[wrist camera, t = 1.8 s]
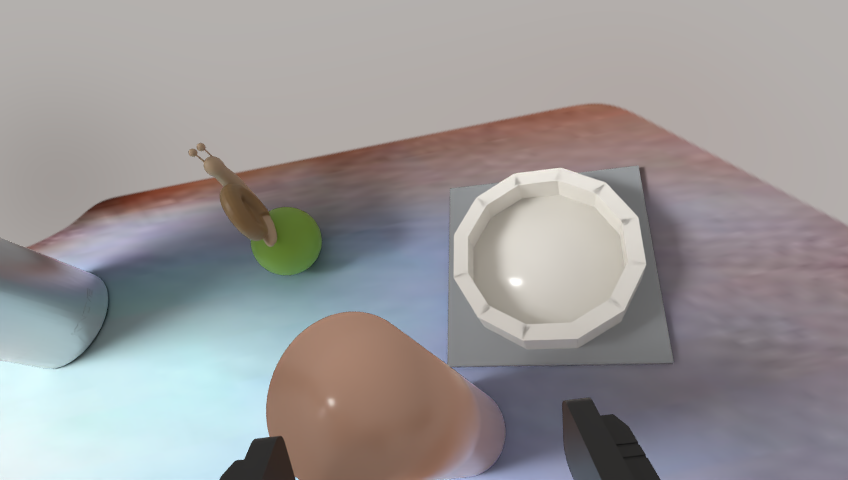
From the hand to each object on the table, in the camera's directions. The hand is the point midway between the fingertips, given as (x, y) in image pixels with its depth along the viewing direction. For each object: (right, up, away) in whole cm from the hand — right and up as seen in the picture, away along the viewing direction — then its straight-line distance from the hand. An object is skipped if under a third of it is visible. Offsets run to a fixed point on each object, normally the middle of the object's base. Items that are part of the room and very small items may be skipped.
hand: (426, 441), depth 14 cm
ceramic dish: (+8, +4, +20) cm, 22 cm away
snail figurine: (-10, +5, +27) cm, 30 cm away
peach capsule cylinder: (+2, -7, +17) cm, 19 cm away
